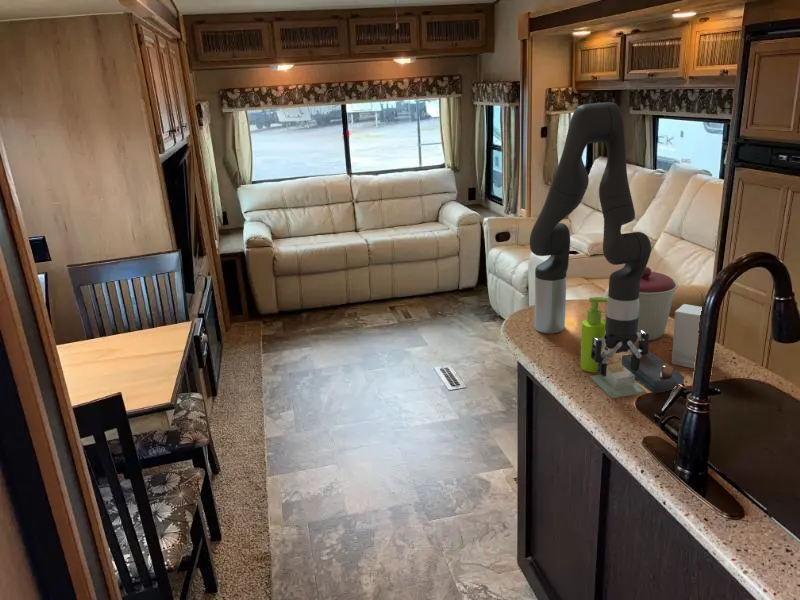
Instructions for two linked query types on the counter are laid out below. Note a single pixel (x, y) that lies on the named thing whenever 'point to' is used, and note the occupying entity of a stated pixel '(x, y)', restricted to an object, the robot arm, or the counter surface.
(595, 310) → the soap dispenser
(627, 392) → the rubber mat
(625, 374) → the lever cap
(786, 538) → the counter surface
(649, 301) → the canister
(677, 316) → the skincare box
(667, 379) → the hand plane
